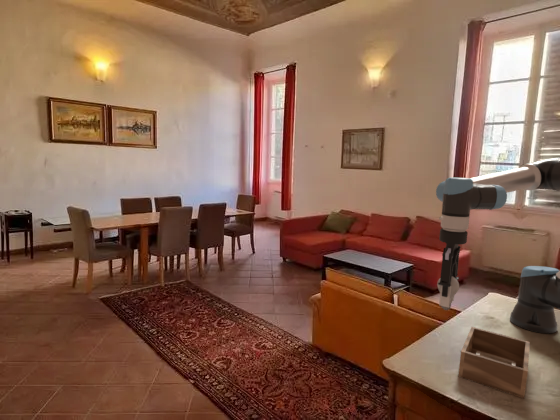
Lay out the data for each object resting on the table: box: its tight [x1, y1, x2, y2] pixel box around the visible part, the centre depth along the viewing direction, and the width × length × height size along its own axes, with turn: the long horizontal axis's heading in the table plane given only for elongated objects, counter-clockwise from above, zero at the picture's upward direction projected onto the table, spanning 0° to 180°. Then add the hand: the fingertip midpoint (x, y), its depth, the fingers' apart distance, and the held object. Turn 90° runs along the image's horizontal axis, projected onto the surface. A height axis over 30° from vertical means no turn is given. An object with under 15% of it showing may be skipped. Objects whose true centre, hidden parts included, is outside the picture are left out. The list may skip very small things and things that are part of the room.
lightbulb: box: [436, 276, 460, 311], centre depth 112 cm, size 6×6×11 cm
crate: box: [457, 326, 531, 399], centre depth 109 cm, size 20×16×8 cm
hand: (446, 302), depth 113 cm, fingers closed on lightbulb, 6 cm apart
